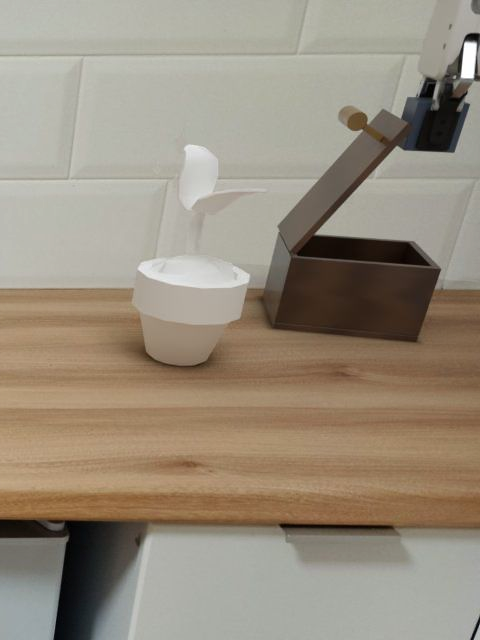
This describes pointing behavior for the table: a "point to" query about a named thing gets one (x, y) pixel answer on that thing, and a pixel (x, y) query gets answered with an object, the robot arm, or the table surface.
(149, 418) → the table surface
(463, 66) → the robot arm
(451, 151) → the block
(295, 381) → the table surface
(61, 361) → the table surface
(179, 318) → the potted plant
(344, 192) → the lid
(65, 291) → the table surface
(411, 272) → the chest
